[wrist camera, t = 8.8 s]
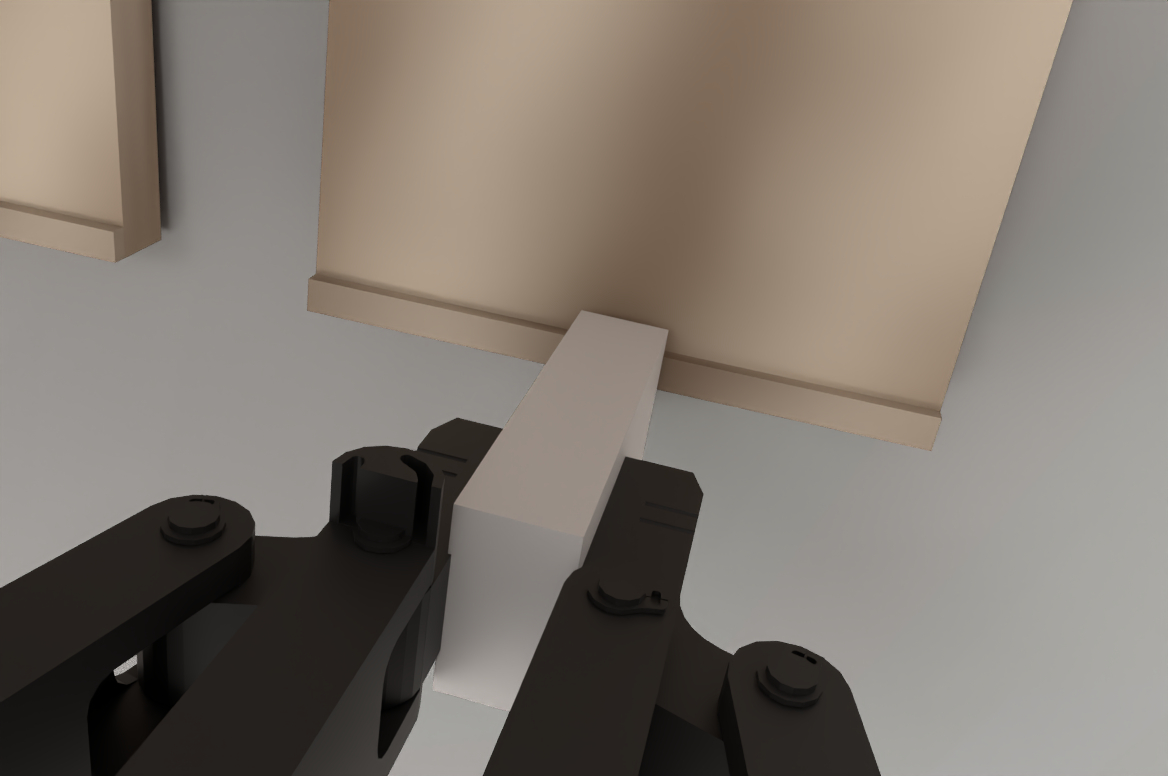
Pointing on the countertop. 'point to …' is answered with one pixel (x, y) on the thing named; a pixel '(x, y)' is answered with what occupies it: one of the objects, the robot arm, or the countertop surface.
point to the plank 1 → (79, 126)
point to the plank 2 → (685, 184)
